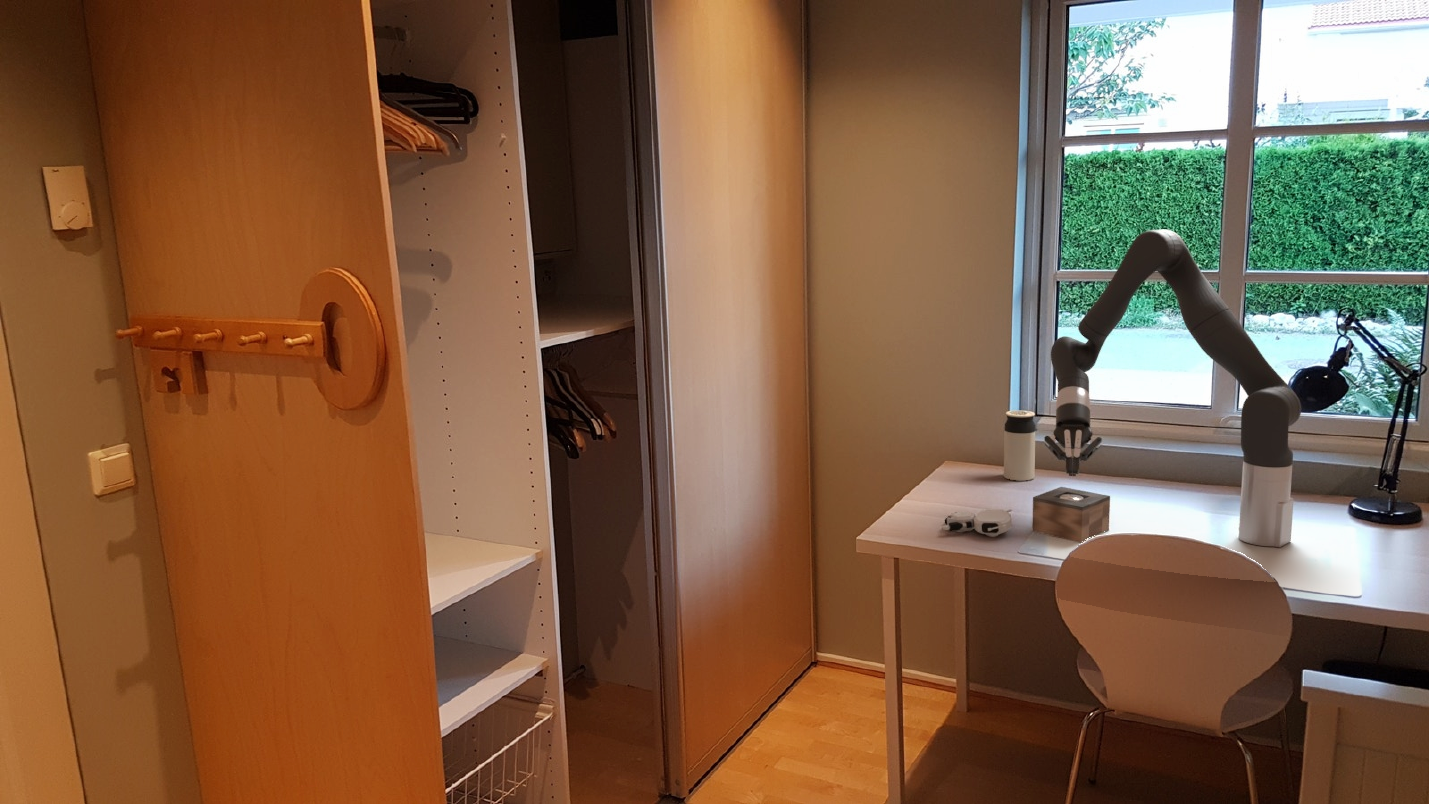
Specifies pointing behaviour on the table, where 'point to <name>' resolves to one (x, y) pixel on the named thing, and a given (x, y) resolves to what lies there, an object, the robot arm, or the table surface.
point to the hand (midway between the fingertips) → (1072, 474)
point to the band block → (1071, 514)
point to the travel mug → (1019, 446)
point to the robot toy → (980, 522)
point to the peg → (1071, 497)
